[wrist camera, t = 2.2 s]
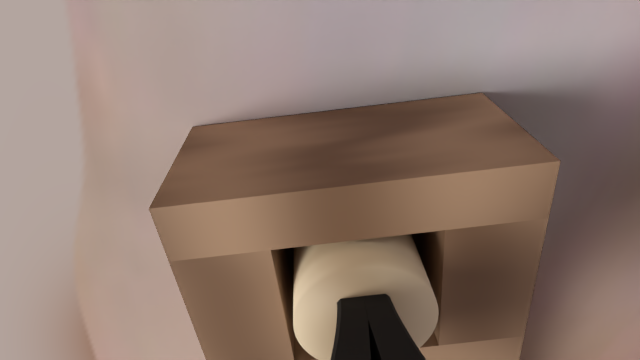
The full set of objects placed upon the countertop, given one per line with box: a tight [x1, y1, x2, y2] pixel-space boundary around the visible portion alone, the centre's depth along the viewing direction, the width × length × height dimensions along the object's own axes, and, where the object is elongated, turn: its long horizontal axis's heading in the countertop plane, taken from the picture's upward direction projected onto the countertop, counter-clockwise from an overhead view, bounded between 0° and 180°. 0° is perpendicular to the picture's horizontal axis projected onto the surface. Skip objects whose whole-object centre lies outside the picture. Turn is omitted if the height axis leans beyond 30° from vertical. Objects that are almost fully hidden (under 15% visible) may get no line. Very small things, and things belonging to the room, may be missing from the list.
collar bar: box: [149, 93, 561, 360], centre depth 17 cm, size 10×20×5 cm, turn 6°
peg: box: [293, 234, 439, 360], centre depth 14 cm, size 4×4×5 cm
